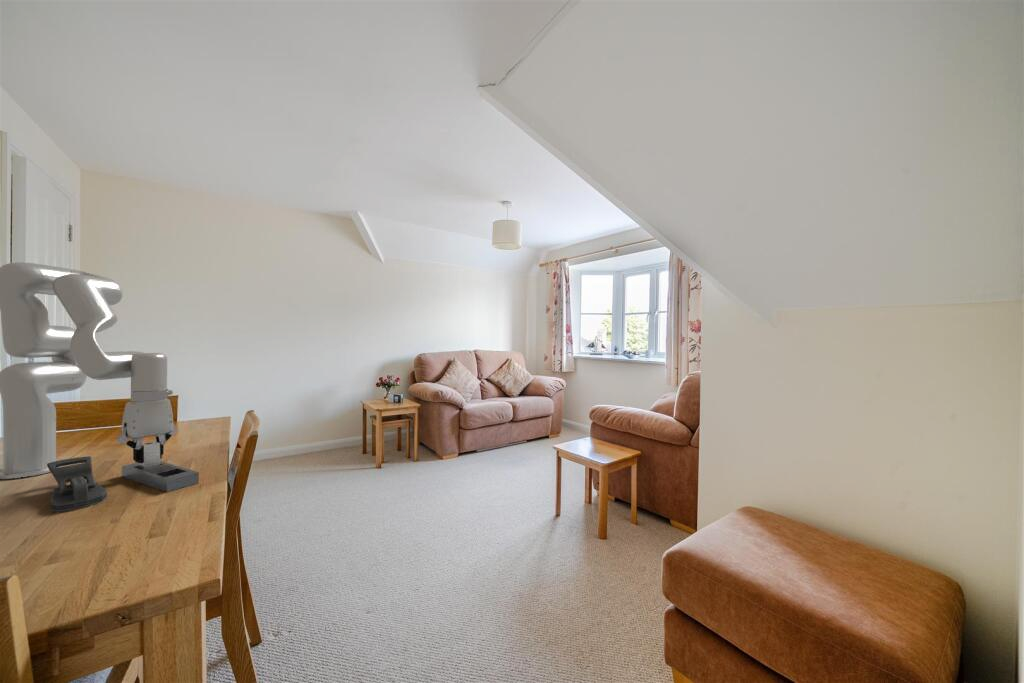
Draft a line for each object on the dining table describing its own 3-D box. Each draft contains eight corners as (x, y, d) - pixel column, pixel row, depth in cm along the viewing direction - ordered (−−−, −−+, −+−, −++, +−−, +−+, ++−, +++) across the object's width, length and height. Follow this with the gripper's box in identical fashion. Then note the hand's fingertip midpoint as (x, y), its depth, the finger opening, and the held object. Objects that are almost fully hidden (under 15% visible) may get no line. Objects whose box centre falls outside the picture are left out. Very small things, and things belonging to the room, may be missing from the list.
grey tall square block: (137, 472, 108) (137, 444, 108) (153, 468, 112) (153, 441, 112) (144, 474, 107) (143, 445, 107) (160, 470, 110) (159, 442, 110)
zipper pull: (93, 454, 107) (109, 475, 93) (93, 478, 108) (109, 502, 93) (43, 462, 100) (51, 486, 85) (43, 487, 100) (51, 515, 85)
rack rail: (121, 476, 109) (122, 465, 109) (153, 469, 115) (153, 458, 115) (167, 492, 99) (167, 480, 99) (198, 483, 105) (198, 472, 105)
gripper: (177, 391, 118) (176, 450, 118) (102, 399, 103) (102, 466, 103) (190, 393, 115) (190, 454, 115) (116, 401, 100) (115, 471, 100)
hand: (148, 459), depth 109 cm, fingers closed on grey tall square block, 3 cm apart
